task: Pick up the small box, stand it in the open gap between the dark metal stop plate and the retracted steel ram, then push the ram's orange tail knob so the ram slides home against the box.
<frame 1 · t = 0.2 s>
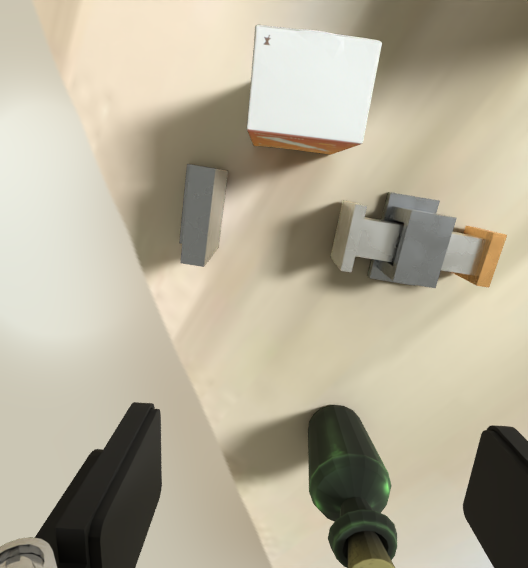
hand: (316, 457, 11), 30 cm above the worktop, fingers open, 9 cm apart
ram: (413, 245, 36), point 4 cm above the worktop, slide at 0.0 cm
potion bottle: (334, 425, 46), on the worktop
small box: (296, 117, 36), on the worktop
guide block: (400, 239, 39), on the worktop
stop plate: (213, 208, 39), on the worktop
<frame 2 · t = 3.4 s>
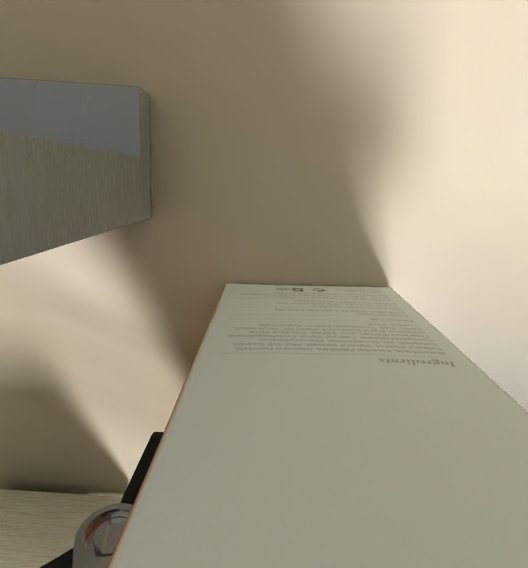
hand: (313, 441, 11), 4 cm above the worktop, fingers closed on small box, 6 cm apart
small box: (302, 376, 15), on the worktop, touching gripper
stop plate: (36, 181, 13), on the worktop
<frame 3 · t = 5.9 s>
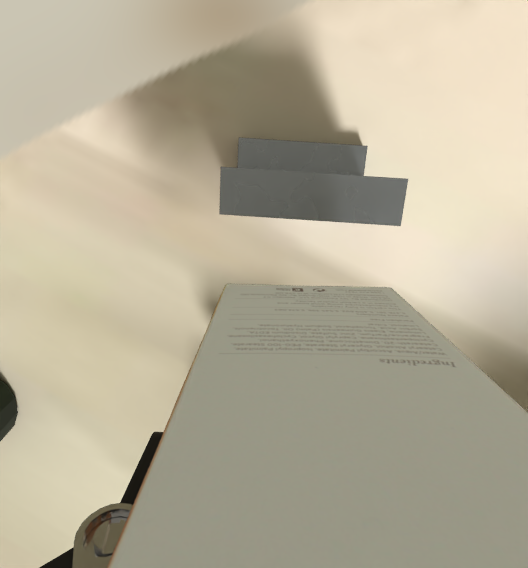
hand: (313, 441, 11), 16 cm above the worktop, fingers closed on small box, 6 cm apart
small box: (302, 376, 15), point 12 cm above the worktop, touching gripper
stop plate: (297, 191, 25), on the worktop
when the fingers open (5 cm above the worktop, at t = 8.6 s): small box drops 1 cm, on the worktop.
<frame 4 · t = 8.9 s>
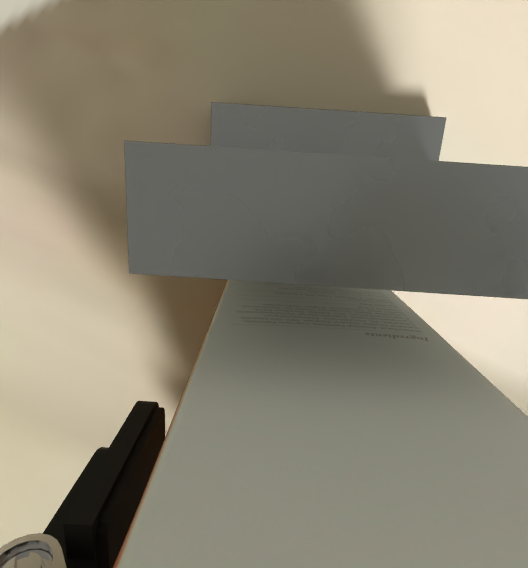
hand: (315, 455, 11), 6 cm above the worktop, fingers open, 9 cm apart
small box: (296, 359, 16), on the worktop
stop plate: (316, 198, 14), on the worktop
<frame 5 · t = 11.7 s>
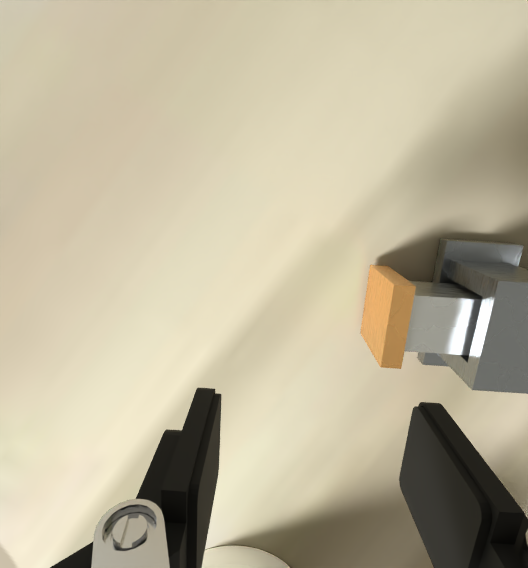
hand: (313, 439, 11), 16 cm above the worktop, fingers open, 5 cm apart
ram: (490, 321, 23), point 4 cm above the worktop, slide at 0.0 cm
guide block: (463, 303, 26), on the worktop
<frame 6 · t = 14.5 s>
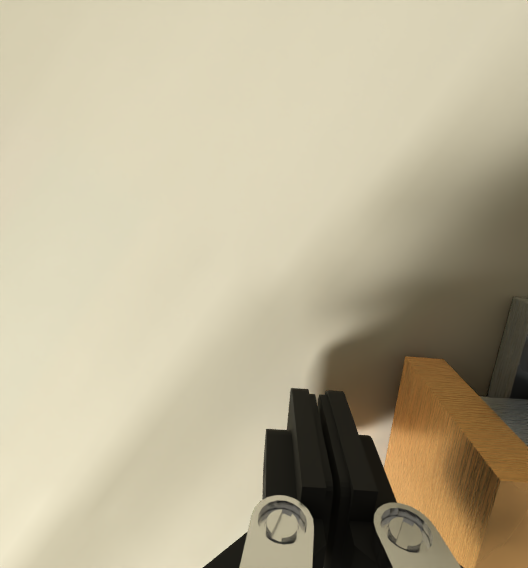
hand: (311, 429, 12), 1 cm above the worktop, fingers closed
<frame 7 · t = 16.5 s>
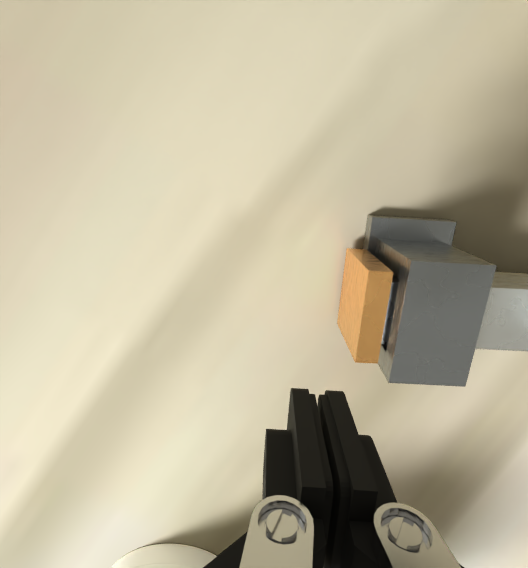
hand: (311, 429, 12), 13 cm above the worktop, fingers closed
ram: (477, 309, 21), point 4 cm above the worktop, slide at 3.5 cm
guide block: (396, 286, 24), on the worktop
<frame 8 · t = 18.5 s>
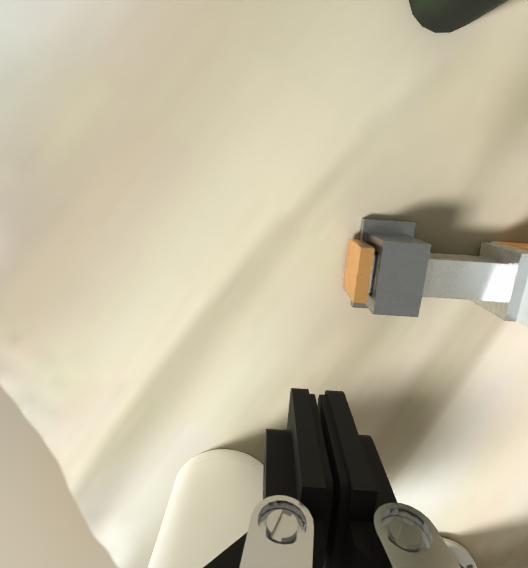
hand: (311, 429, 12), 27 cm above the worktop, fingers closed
ram: (427, 274, 35), point 4 cm above the worktop, slide at 3.5 cm
small box: (520, 271, 38), on the worktop
guide block: (380, 264, 38), on the worktop
cylinder: (225, 489, 46), on the worktop
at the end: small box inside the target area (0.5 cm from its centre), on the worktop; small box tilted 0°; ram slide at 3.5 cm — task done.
